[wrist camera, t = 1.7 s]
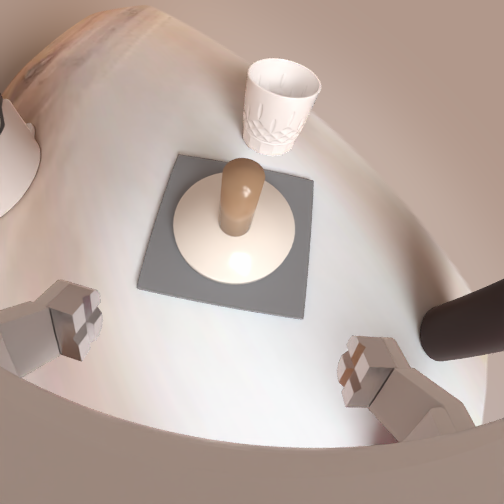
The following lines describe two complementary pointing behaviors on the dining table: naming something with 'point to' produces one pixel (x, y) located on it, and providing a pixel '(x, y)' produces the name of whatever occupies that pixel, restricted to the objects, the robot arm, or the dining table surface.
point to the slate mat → (232, 296)
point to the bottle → (466, 325)
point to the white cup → (277, 104)
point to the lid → (234, 225)
